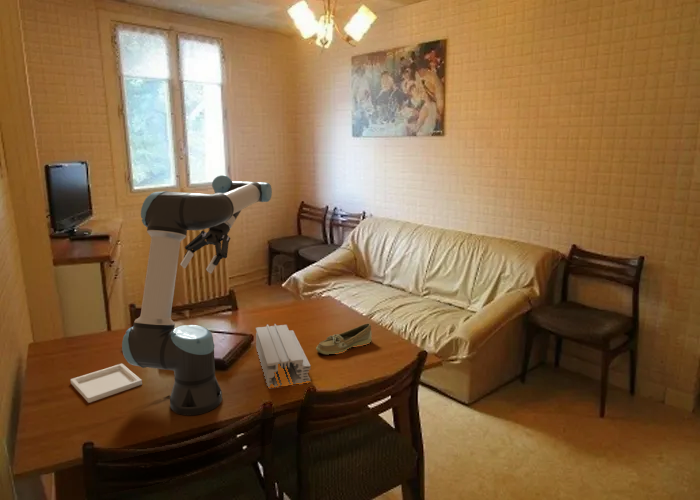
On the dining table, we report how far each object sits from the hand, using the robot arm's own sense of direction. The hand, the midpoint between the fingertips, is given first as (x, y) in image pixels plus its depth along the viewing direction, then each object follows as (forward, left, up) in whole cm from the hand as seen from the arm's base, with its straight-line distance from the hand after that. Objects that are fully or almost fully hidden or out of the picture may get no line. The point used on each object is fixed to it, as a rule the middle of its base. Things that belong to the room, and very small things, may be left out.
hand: (195, 269), depth 183 cm
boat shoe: (-42, -38, -30) cm, 65 cm away
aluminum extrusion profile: (-38, -11, -30) cm, 50 cm away
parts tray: (-11, +39, -30) cm, 50 cm away
